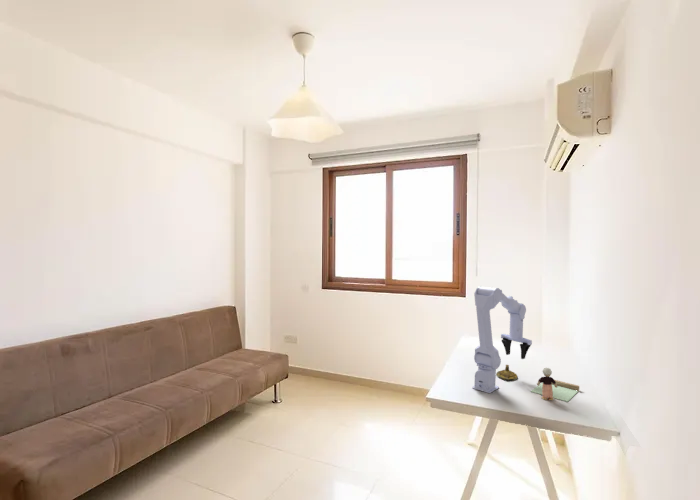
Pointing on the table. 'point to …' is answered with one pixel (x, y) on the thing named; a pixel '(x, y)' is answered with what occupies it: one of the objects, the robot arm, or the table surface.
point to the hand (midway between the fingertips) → (515, 356)
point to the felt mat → (557, 392)
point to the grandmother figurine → (547, 384)
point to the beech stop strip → (567, 385)
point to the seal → (507, 374)
